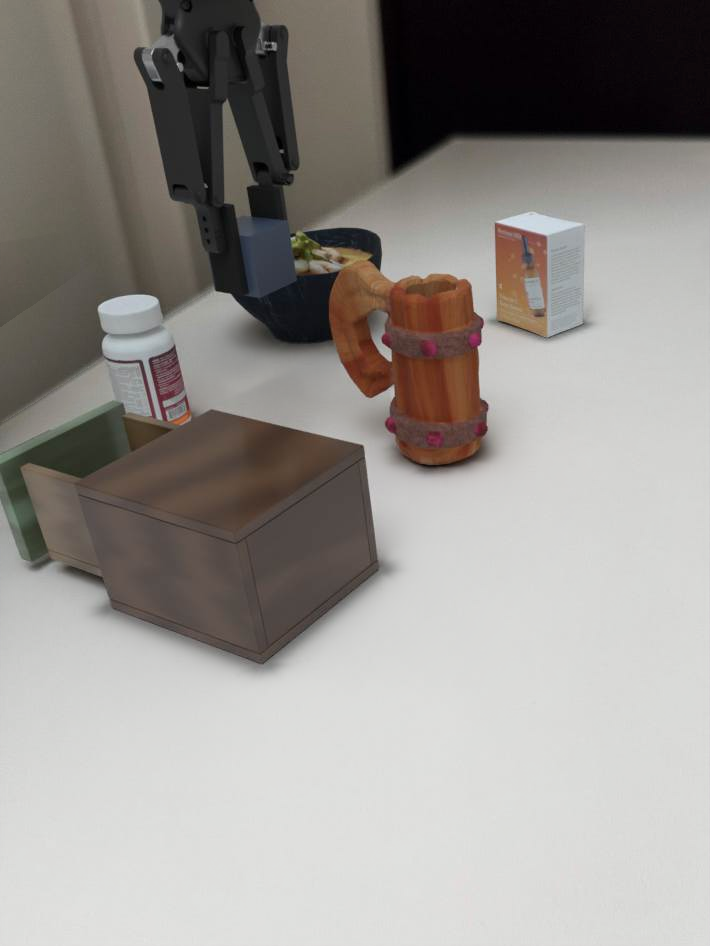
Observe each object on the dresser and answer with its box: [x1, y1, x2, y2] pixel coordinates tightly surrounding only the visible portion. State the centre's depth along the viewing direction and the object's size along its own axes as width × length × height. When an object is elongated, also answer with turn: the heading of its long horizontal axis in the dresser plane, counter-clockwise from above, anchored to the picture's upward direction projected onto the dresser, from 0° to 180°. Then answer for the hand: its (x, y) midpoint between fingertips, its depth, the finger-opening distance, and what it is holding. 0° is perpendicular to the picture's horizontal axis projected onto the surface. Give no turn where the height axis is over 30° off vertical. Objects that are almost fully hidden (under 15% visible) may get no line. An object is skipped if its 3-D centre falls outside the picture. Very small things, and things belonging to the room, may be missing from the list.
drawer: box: [0, 399, 181, 578], centre depth 76 cm, size 18×11×8 cm, turn 59°
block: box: [207, 215, 297, 298], centre depth 82 cm, size 5×5×5 cm
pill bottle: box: [97, 294, 192, 425], centre depth 93 cm, size 6×6×11 cm
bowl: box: [230, 227, 383, 344], centre depth 112 cm, size 17×17×10 cm
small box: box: [494, 211, 586, 339], centre depth 111 cm, size 8×6×10 cm
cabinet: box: [74, 408, 380, 664], centre depth 71 cm, size 14×13×10 cm
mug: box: [329, 260, 490, 466], centre depth 86 cm, size 15×8×15 cm, turn 56°
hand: (254, 281), depth 83 cm, fingers closed on block, 5 cm apart
